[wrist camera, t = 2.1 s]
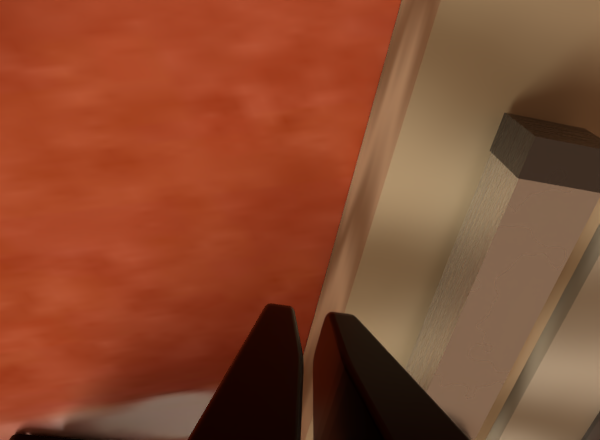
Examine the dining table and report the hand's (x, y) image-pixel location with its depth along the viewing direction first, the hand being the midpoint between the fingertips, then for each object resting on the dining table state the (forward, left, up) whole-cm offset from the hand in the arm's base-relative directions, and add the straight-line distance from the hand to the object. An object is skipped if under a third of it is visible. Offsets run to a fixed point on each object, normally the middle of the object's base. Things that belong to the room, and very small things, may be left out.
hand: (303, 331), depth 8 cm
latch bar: (-5, -7, -9) cm, 12 cm away
